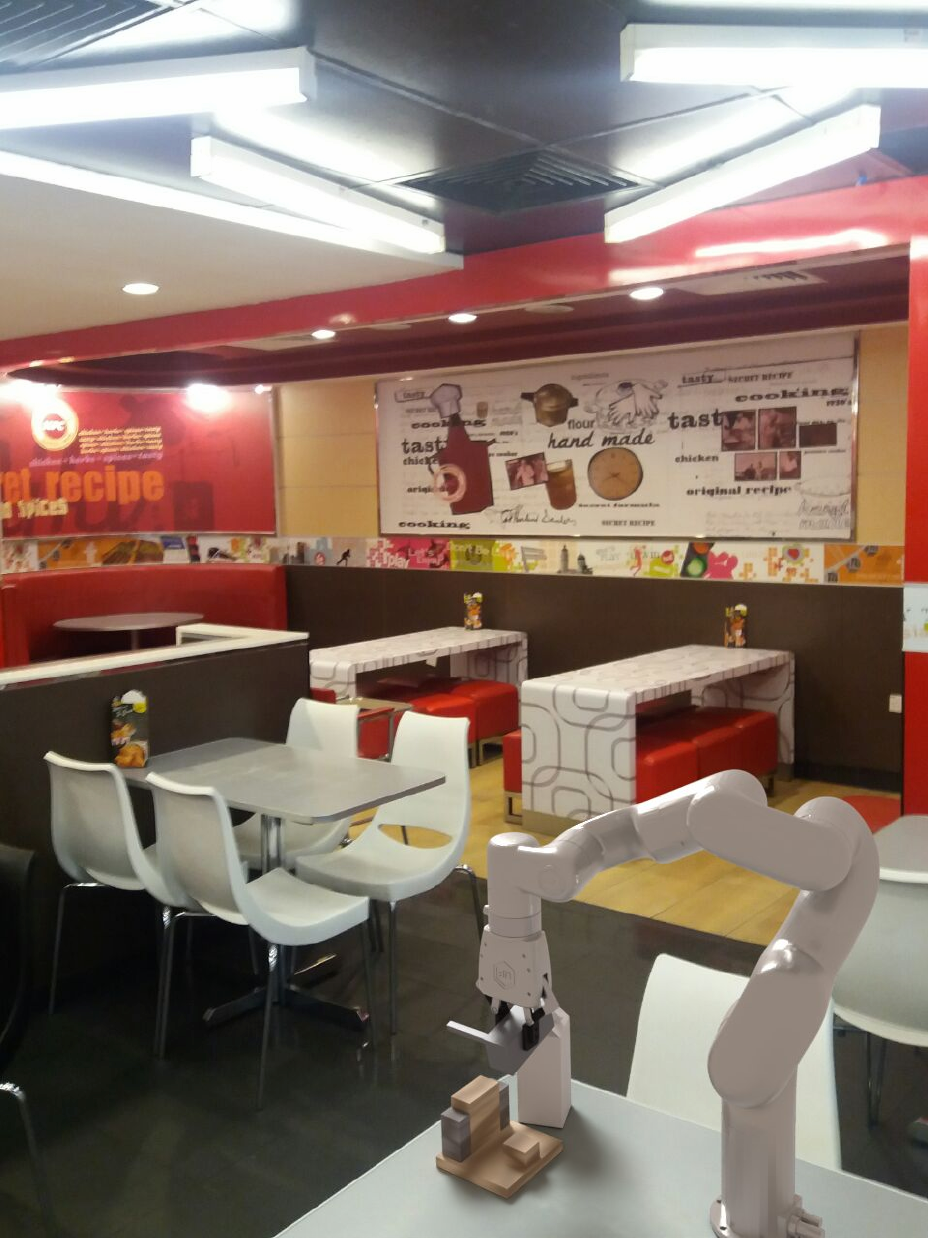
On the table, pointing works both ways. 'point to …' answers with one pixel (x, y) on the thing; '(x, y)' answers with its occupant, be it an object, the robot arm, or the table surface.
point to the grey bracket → (506, 1039)
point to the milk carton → (547, 1078)
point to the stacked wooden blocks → (491, 1140)
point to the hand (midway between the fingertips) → (517, 1041)
